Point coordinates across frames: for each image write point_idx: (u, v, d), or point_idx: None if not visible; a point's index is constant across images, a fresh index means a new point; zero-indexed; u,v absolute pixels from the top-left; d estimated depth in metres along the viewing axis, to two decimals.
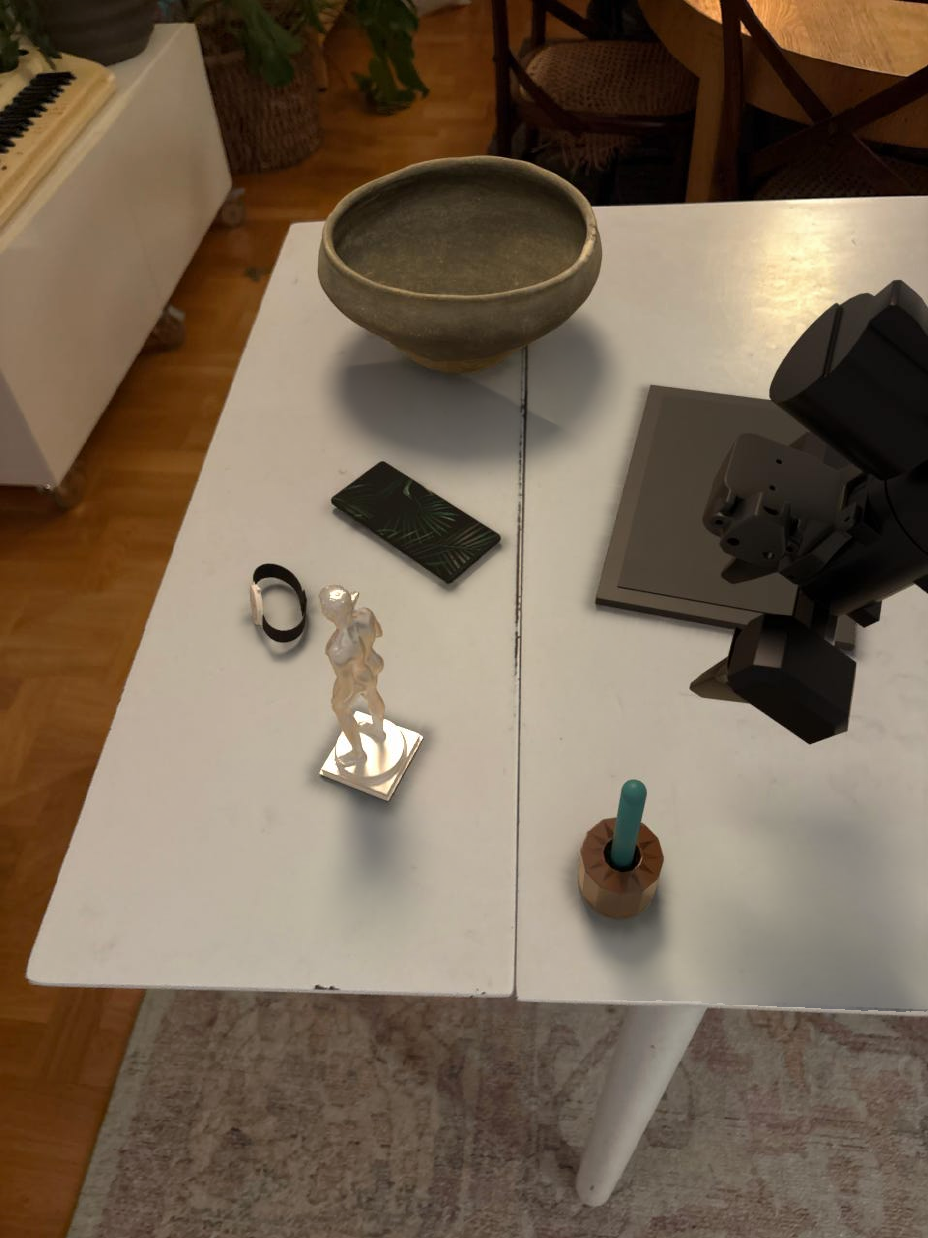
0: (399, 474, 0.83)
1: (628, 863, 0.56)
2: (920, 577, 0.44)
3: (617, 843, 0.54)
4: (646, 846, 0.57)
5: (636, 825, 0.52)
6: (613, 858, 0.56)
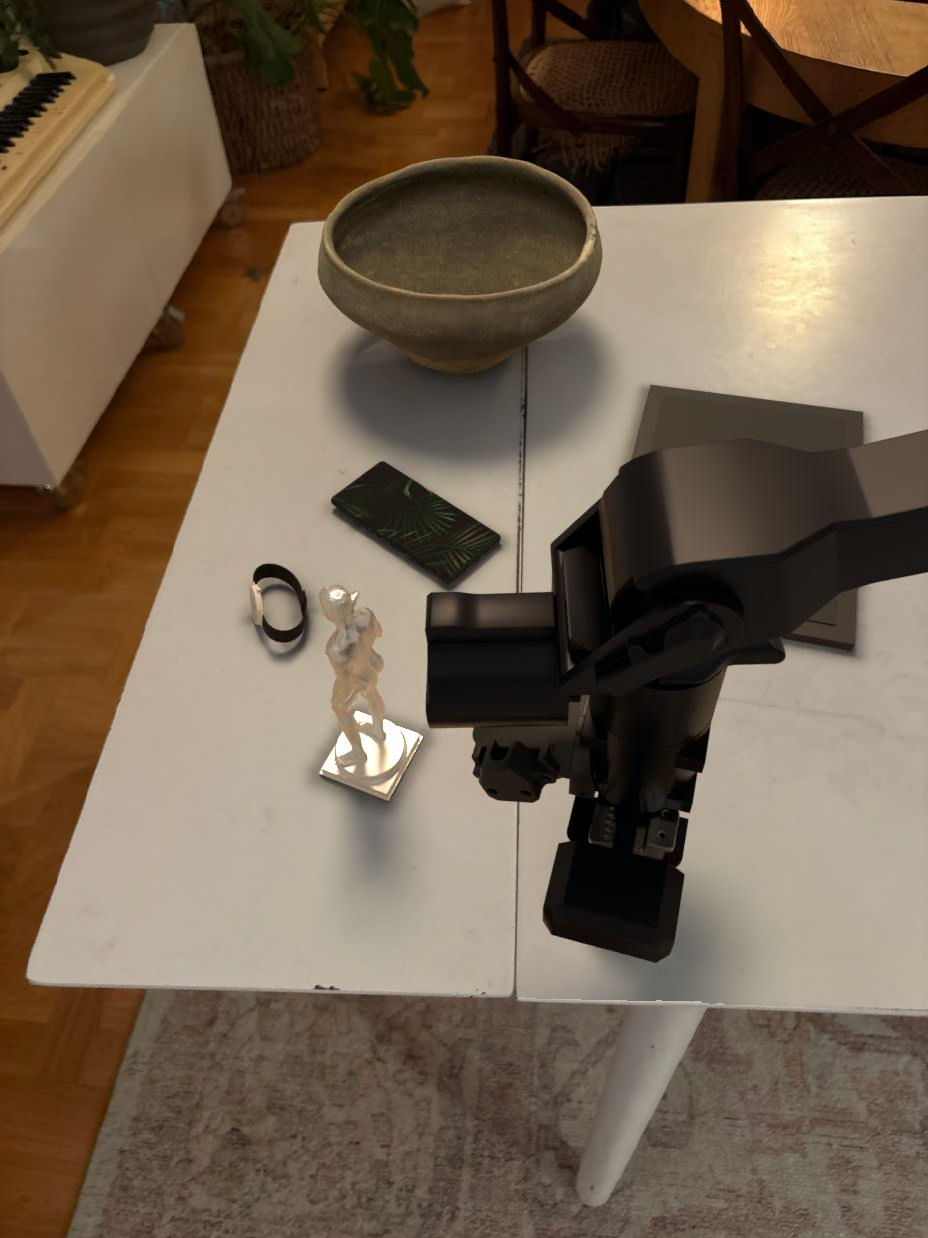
0: (399, 474, 0.83)
1: None
2: (674, 762, 0.41)
3: None
4: None
5: None
6: None
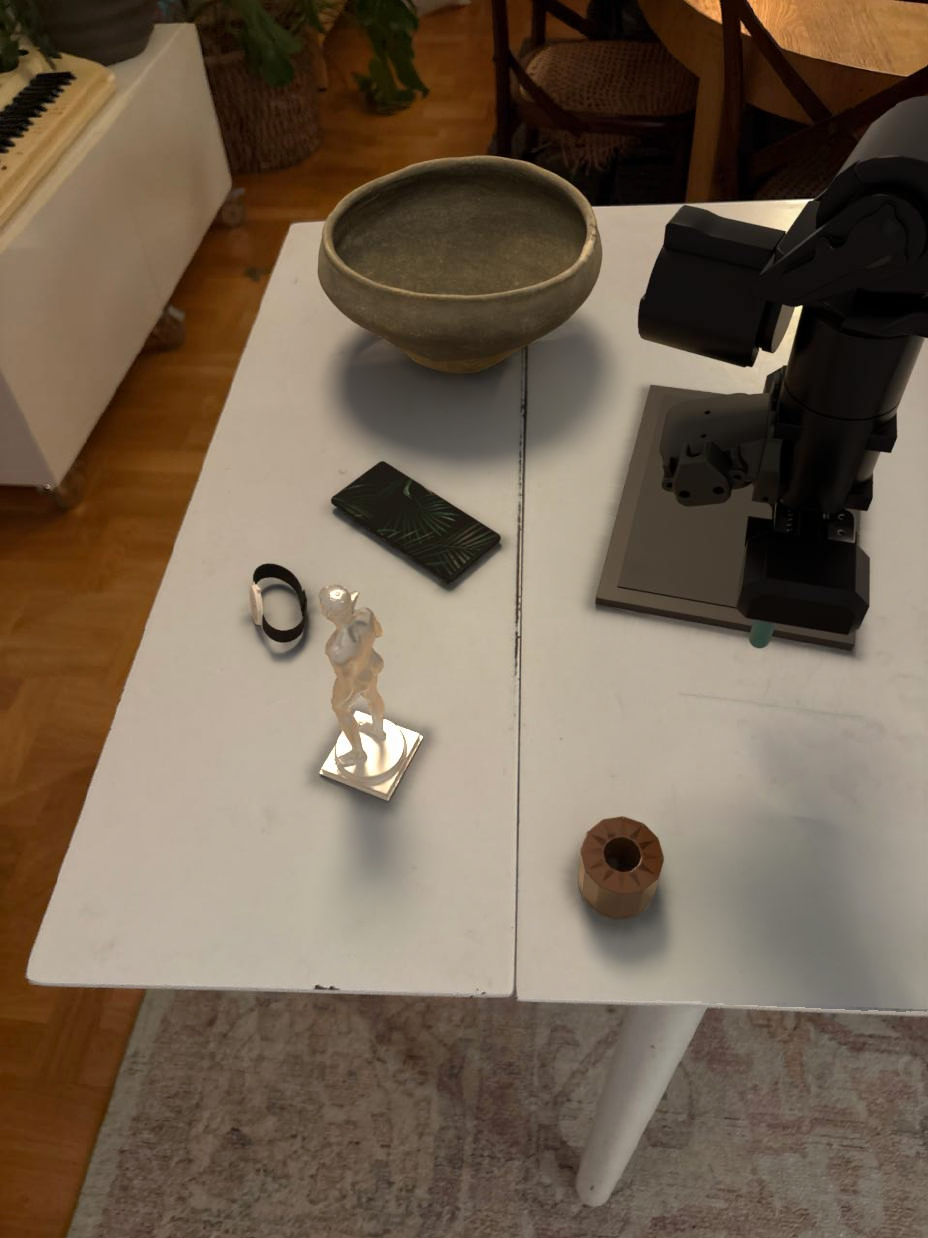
0: (399, 474, 0.83)
1: None
2: (865, 442, 0.45)
3: None
4: (646, 846, 0.57)
5: None
6: None
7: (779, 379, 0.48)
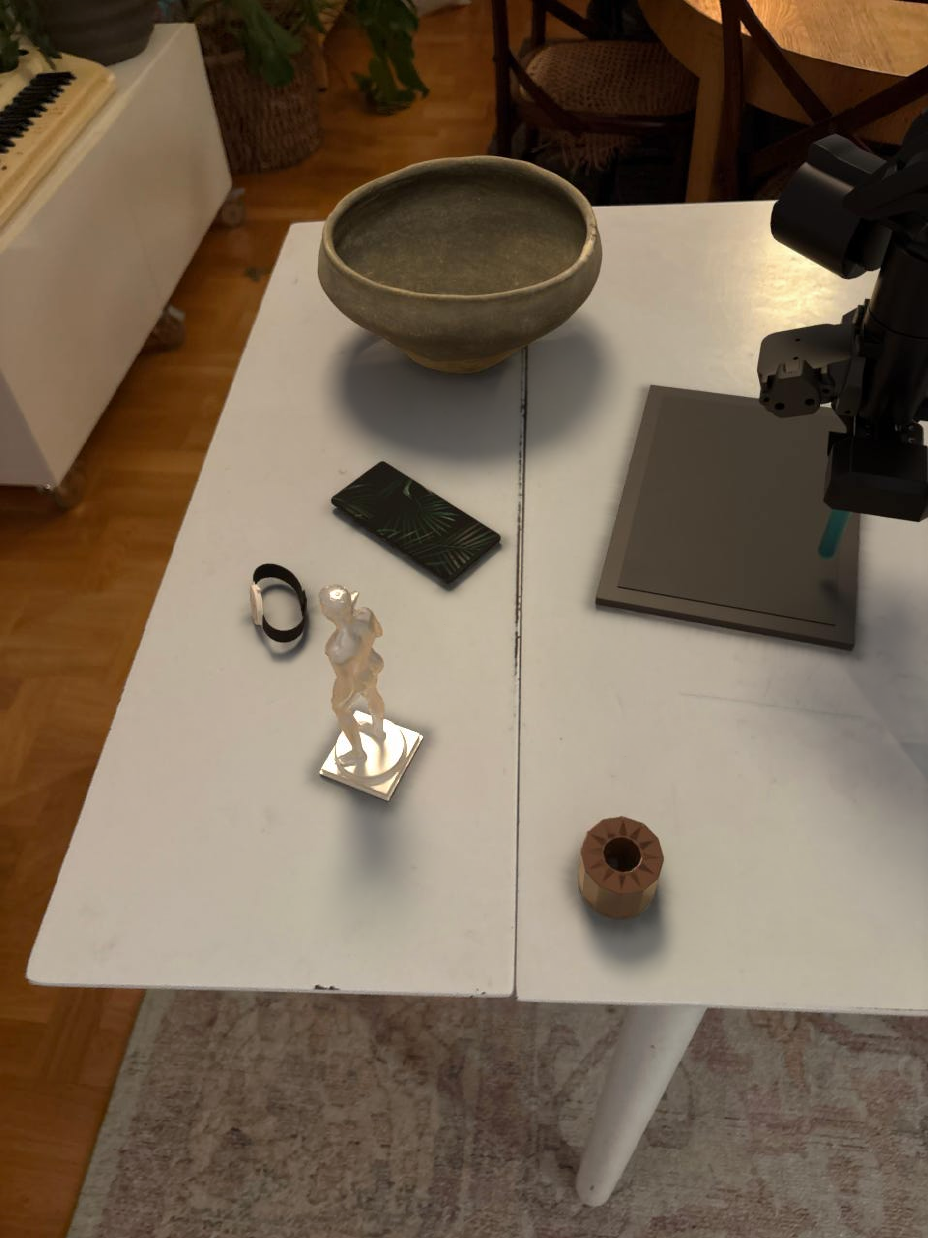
0: (399, 474, 0.83)
1: (844, 526, 0.68)
2: None
3: None
4: (646, 846, 0.57)
5: None
6: (832, 522, 0.69)
7: (862, 309, 0.57)
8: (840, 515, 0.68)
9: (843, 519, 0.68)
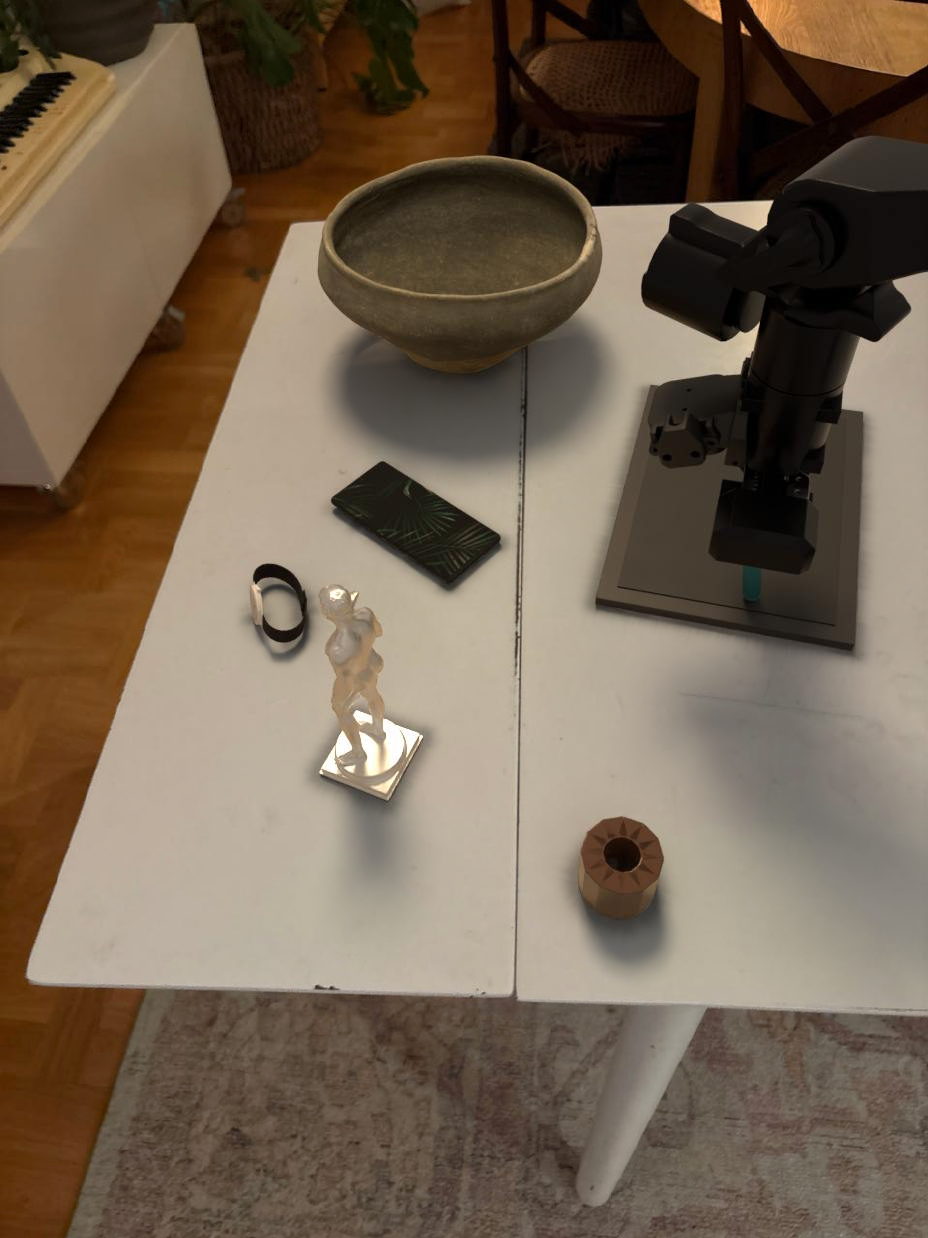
0: (399, 474, 0.83)
1: (758, 568, 0.69)
2: (816, 414, 0.55)
3: None
4: (646, 846, 0.57)
5: None
6: (745, 566, 0.69)
7: (748, 362, 0.58)
8: None
9: None
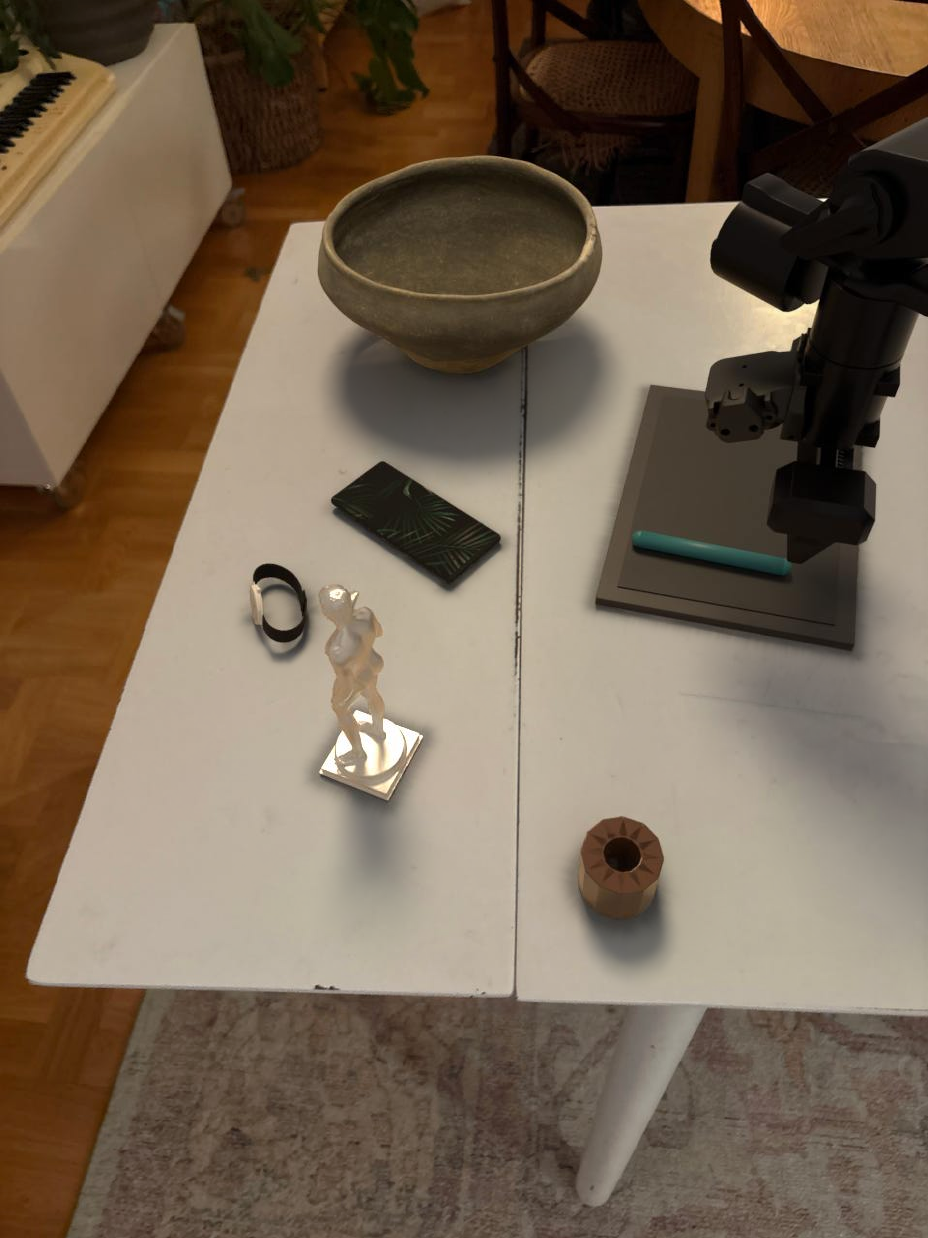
0: (399, 474, 0.83)
1: (740, 558, 0.73)
2: (874, 388, 0.56)
3: None
4: (646, 846, 0.57)
5: (674, 545, 0.75)
6: None
7: (805, 338, 0.59)
8: (724, 561, 0.74)
9: (729, 559, 0.74)
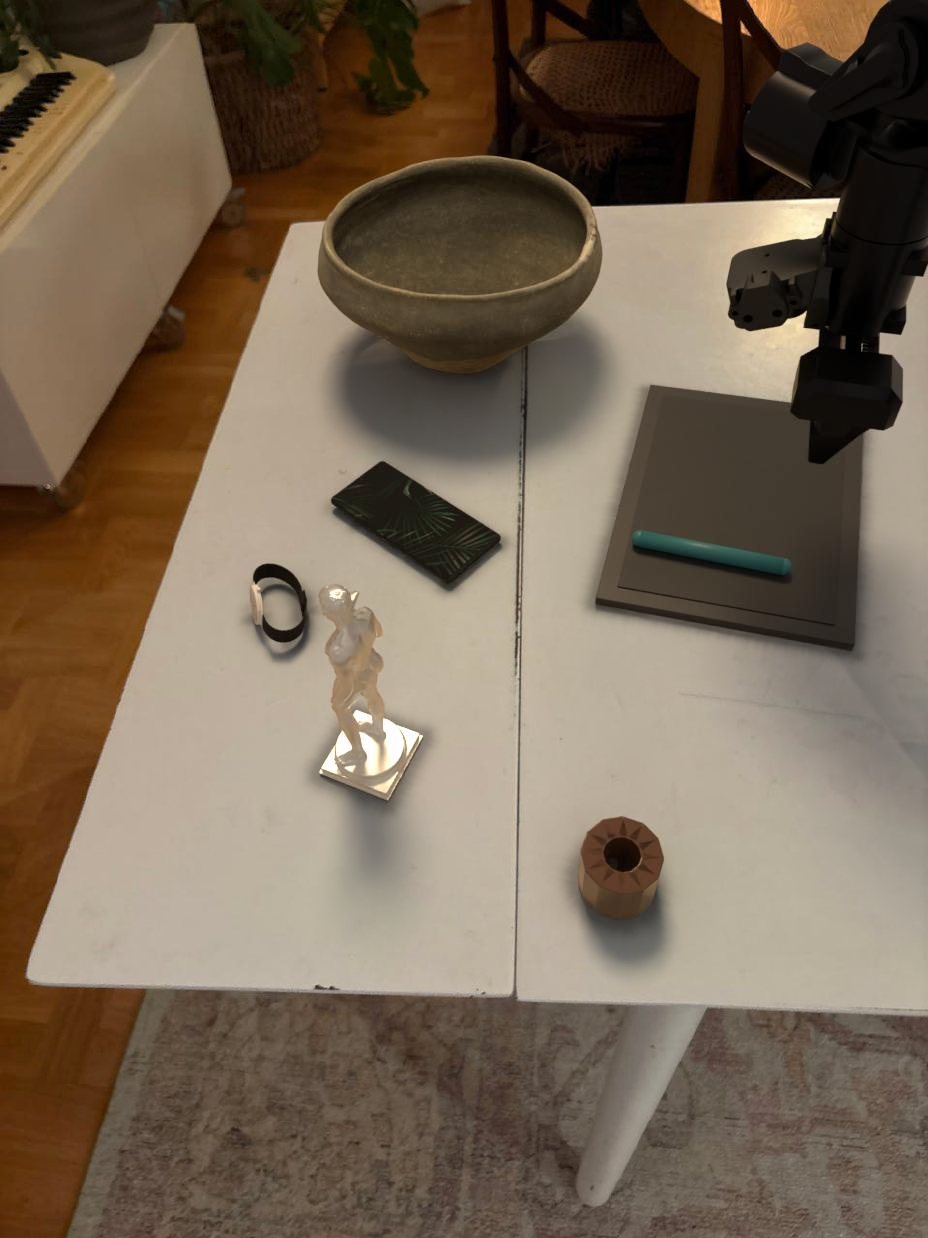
0: (399, 474, 0.83)
1: (740, 557, 0.73)
2: (902, 266, 0.55)
3: (705, 559, 0.75)
4: (646, 846, 0.57)
5: (674, 544, 0.75)
6: None
7: (829, 222, 0.58)
8: (724, 561, 0.74)
9: (729, 559, 0.74)
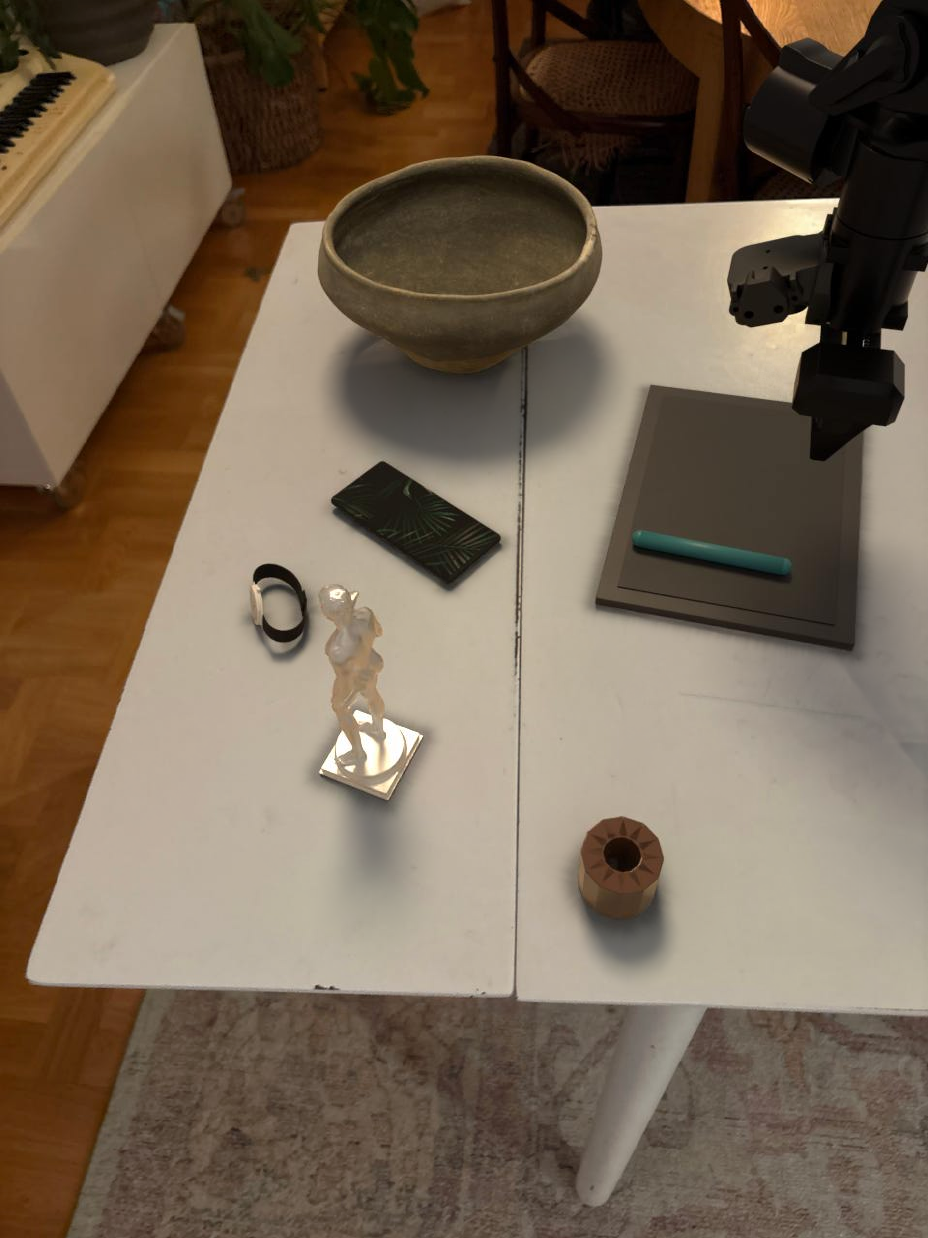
0: (399, 474, 0.83)
1: (741, 557, 0.73)
2: (904, 262, 0.54)
3: (705, 559, 0.75)
4: (646, 846, 0.57)
5: (674, 544, 0.75)
6: (736, 565, 0.74)
7: (830, 218, 0.58)
8: (724, 561, 0.74)
9: (730, 559, 0.74)
